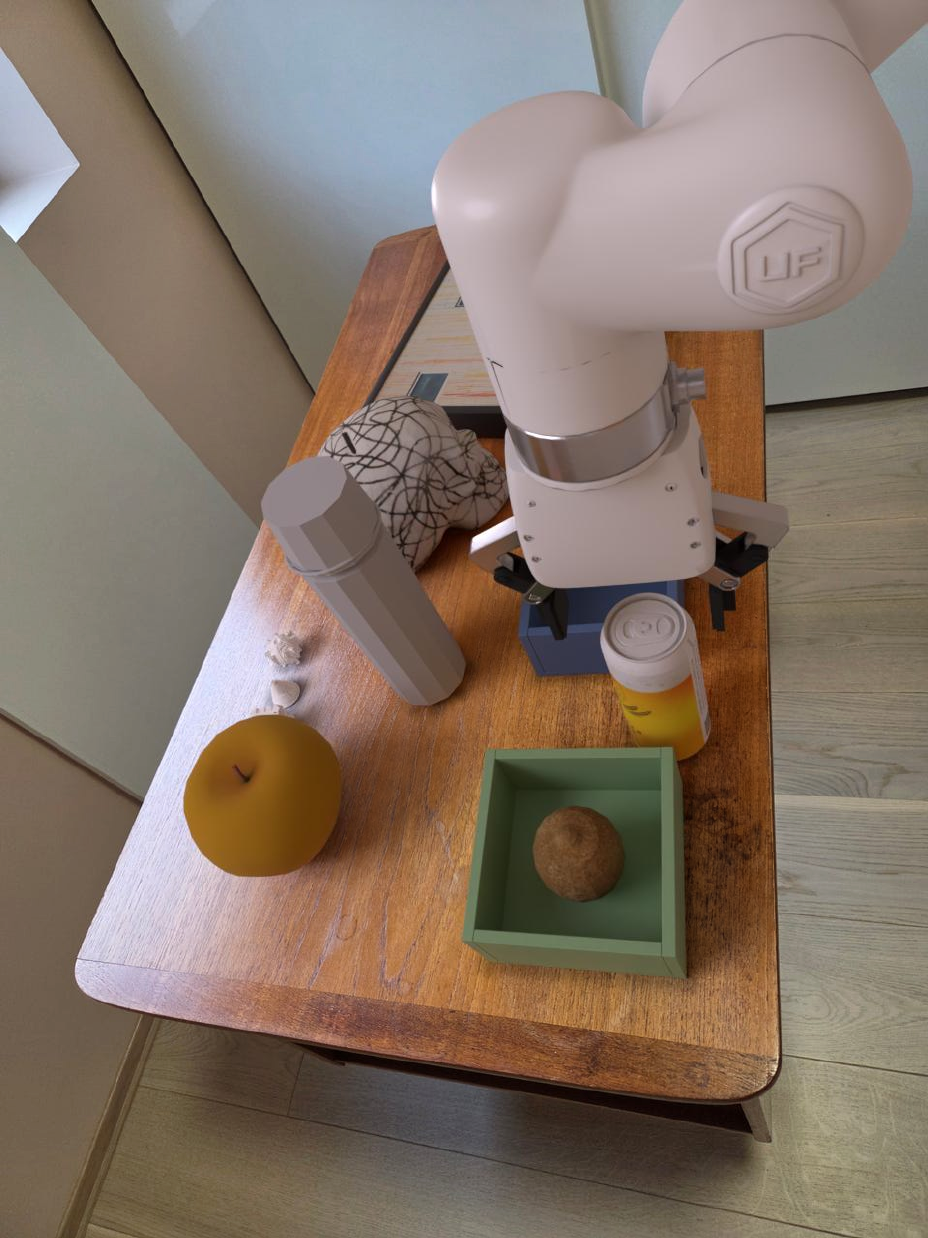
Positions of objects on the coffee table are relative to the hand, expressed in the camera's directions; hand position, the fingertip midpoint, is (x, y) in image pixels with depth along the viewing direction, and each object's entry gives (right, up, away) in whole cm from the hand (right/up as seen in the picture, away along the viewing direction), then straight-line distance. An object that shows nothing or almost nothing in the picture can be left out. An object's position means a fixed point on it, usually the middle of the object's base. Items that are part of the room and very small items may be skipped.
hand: (637, 617), depth 49 cm
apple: (-25, -18, +18) cm, 36 cm away
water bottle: (-14, -5, +24) cm, 28 cm away
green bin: (-2, -19, +8) cm, 21 cm away
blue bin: (+2, +1, +20) cm, 20 cm away
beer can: (+5, -9, +12) cm, 16 cm away
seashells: (-28, -8, +27) cm, 40 cm away
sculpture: (-15, +9, +34) cm, 38 cm away
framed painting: (-4, +33, +46) cm, 57 cm away
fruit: (-2, -19, +8) cm, 20 cm away
